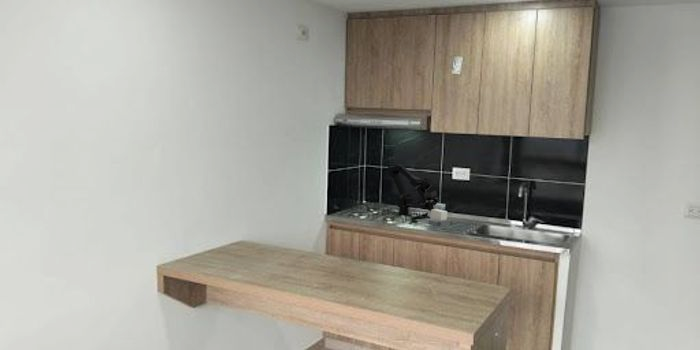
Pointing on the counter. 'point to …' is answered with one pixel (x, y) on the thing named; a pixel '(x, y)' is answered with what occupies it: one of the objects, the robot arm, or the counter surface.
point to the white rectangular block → (438, 215)
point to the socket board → (436, 222)
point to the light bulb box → (437, 206)
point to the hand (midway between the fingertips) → (433, 212)
